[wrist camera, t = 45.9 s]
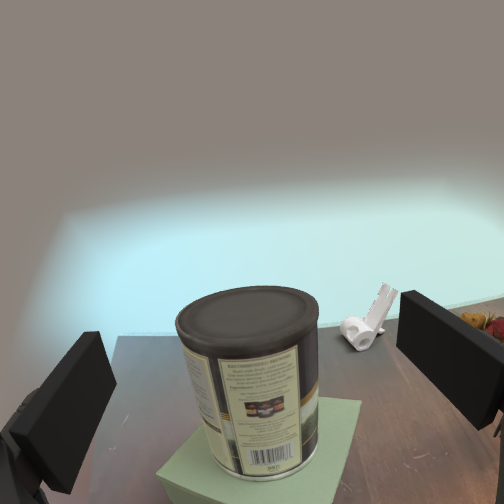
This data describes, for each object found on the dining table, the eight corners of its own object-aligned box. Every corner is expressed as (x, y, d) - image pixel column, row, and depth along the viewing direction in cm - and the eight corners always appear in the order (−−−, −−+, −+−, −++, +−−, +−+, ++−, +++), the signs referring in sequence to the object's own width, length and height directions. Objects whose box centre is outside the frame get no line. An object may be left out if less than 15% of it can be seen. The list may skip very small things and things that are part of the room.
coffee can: (274, 395, 32) (262, 276, 29) (341, 441, 24) (349, 304, 21) (191, 434, 27) (156, 308, 24) (248, 501, 18) (216, 364, 15)
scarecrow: (500, 324, 53) (505, 292, 51) (535, 357, 37) (545, 320, 35) (441, 334, 56) (445, 300, 54) (470, 375, 40) (480, 335, 39)
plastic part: (340, 336, 64) (339, 286, 61) (379, 326, 65) (380, 277, 62) (354, 352, 56) (354, 298, 54) (396, 340, 57) (399, 288, 55)
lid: (361, 405, 29) (361, 400, 29) (321, 531, 15) (321, 528, 15) (236, 387, 36) (236, 382, 35) (157, 478, 22) (155, 473, 21)
